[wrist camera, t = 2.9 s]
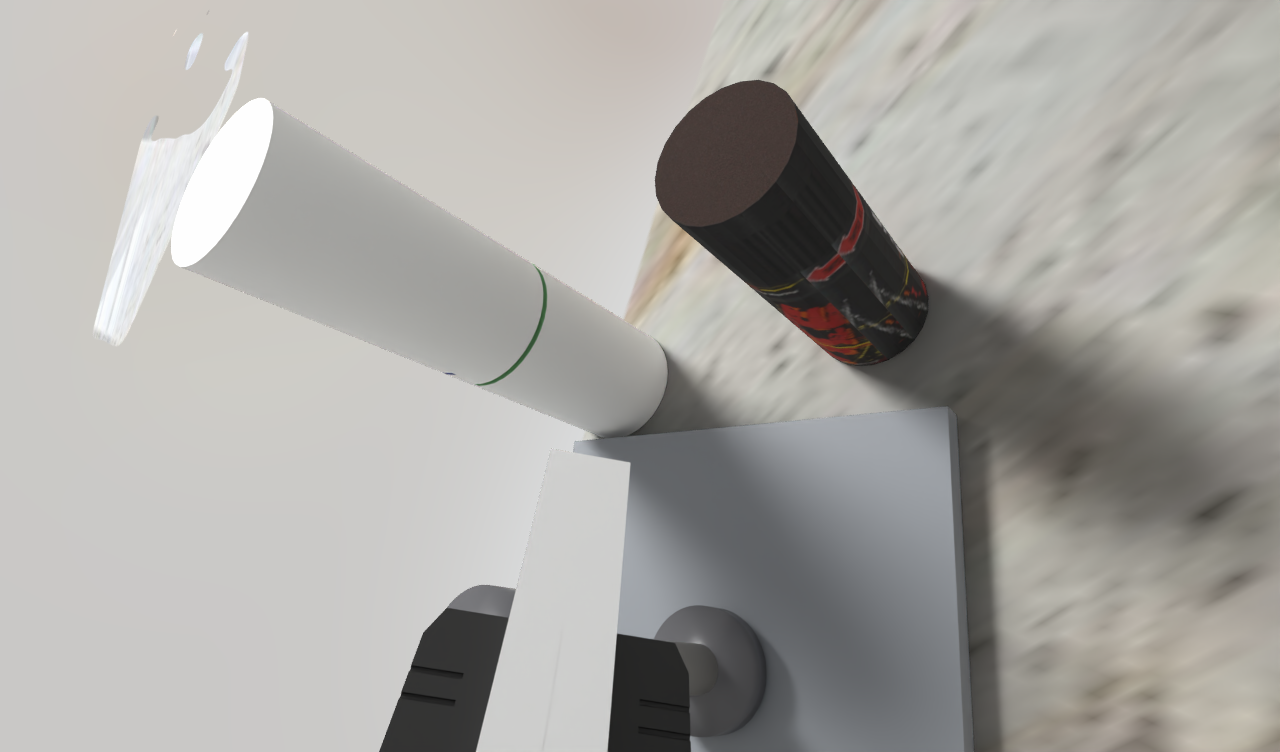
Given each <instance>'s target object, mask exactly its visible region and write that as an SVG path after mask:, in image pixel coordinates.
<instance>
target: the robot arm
mask: <svg viewBox="0 0 1280 752" xmlns="http://www.w3.org/2000/svg"><path fill="white" fill-rule="evenodd" d="M629 476H630V462H624V461H619V460H613V459H608V458H602V457H596V456H591V455H585V454H580V453H574V452H568V451H563V450H557V449H552V448H551V450H550V454H549V458H548V462H547V466H546V470H545V475H544V479H543V483H542V487H541V491H540V495H539V499H538V503H537V507H536V511H535V515H534V519H533V523H532V527H531V531H530V535H529V539H528V543H527V547H526V551H525V556H524V559H523V563H522V567H521V572H520V576H519V580H518V584H517V588H516V592H515V596H514V600H513V604H512V608H511V612H510V616H509V618H507V617H501V616H495V615H489V614H483V613H477V612H471V611H464V610H458V609H452V608H446V609H445V611H444V612H443V613H442V614H441V615H440V616H439V617H438V618H437V619H436V620H435V621H434V622H433V623H432V624H431V625H430V626H429V627H428V628H427V630H426V631H425V632H424V633H423V635H422V638H421V640H420V644H419V646H418V648H417V651H416V654H415V657H414V659H413V662H412V665H411V670H410V671H409V673H408V675H407V678H406V681H405V684H404V686H403V689H402V692H401V697H400V698H399V700H398V703H397V706H396V708H395V711H394V714H393V716H392V719H391V722H390V724H389V727H388V730H387V732H386V735H385V738H384V740H383V743H382V746H381V748H380V751H379V752H691V741H690V735H691V731H690V713H689V708H690V693H689V673H688V670H687V668H686V666H685V664H684V662H683V659H682V657H681V655H680V653H679V650H678V648H677V646H676V644H675V643H673V642H666V641H660V640H654V639H648V638H642V637H636V636H630V635H623V634H617V625H618V613H619V600H620V588H621V575H622V563H623V550H624V538H625V526H626V513H627V501H628V488H629Z"/></svg>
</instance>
